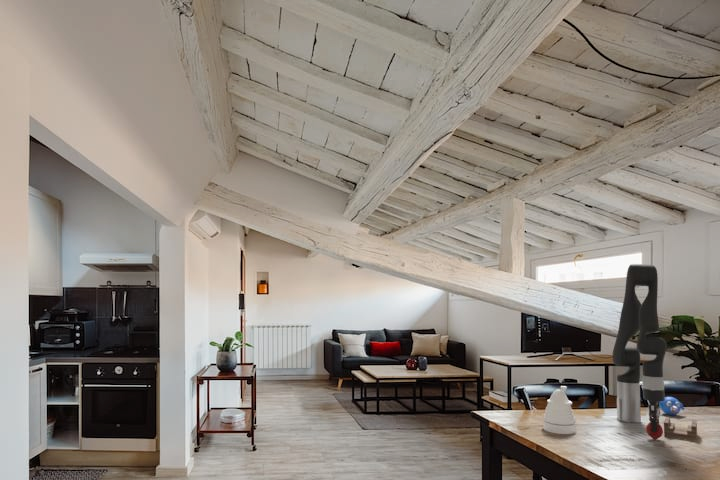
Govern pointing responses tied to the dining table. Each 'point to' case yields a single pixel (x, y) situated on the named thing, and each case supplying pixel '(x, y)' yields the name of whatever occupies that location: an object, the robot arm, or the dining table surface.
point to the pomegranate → (654, 434)
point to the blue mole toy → (671, 406)
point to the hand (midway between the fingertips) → (655, 429)
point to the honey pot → (559, 414)
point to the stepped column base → (680, 431)
